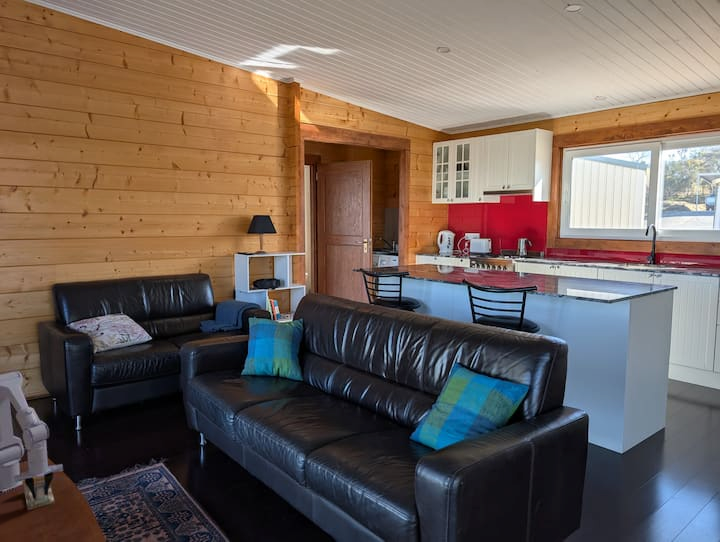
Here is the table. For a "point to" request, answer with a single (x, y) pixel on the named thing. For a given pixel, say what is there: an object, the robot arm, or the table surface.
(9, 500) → the table surface
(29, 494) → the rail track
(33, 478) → the orange brown bar
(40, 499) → the greenish grey block
